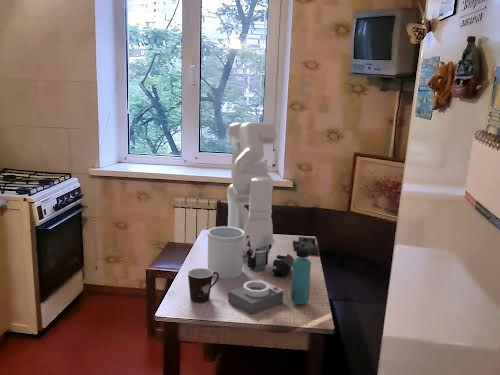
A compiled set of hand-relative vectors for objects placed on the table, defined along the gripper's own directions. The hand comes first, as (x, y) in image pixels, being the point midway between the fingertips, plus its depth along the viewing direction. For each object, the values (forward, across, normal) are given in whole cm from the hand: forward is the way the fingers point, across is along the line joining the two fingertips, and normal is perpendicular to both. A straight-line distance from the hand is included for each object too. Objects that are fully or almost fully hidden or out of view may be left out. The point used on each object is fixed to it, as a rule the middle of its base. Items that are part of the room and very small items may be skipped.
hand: (257, 265), depth 154 cm
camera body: (+14, 0, 0) cm, 14 cm away
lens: (+1, 0, 0) cm, 1 cm away
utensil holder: (+14, -8, -27) cm, 31 cm away
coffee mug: (+14, +13, -13) cm, 23 cm away
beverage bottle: (+14, -12, +10) cm, 21 cm away
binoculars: (+13, -58, -27) cm, 66 cm away
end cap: (+14, -28, -13) cm, 33 cm away
